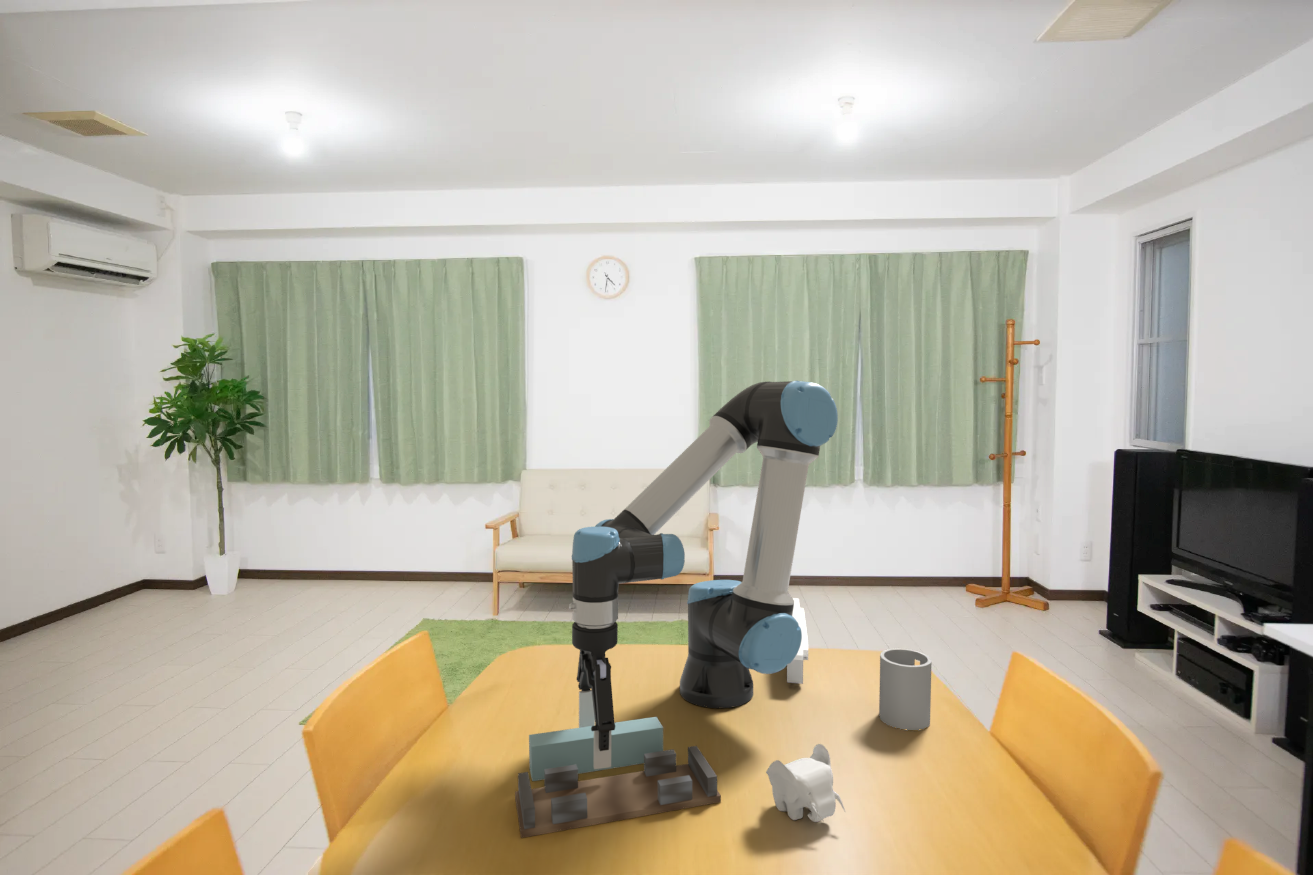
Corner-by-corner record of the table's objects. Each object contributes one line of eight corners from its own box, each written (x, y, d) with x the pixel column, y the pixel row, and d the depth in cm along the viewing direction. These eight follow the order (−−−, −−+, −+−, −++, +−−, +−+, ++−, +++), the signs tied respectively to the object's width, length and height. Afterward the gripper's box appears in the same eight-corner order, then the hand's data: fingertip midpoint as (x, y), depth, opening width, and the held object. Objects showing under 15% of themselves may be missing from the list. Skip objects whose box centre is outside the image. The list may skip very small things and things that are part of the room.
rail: (656, 749, 123) (656, 716, 122) (663, 761, 119) (663, 727, 118) (529, 769, 117) (528, 734, 116) (532, 782, 113) (531, 746, 112)
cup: (877, 725, 130) (878, 662, 130) (881, 704, 139) (882, 645, 138) (929, 734, 127) (931, 669, 126) (930, 712, 135) (931, 651, 135)
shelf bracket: (806, 645, 171) (807, 598, 168) (807, 710, 148) (808, 658, 144) (784, 643, 172) (784, 597, 169) (781, 708, 149) (781, 656, 145)
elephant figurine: (810, 846, 96) (810, 784, 96) (753, 802, 107) (754, 746, 106) (858, 822, 102) (859, 763, 101) (800, 783, 112) (800, 729, 111)
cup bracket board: (698, 767, 116) (698, 744, 116) (720, 801, 107) (720, 776, 107) (515, 797, 108) (514, 772, 108) (521, 837, 99) (520, 810, 98)
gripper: (561, 601, 127) (560, 715, 128) (586, 650, 103) (585, 789, 104) (602, 598, 129) (601, 710, 130) (635, 645, 105) (634, 782, 106)
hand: (594, 746), depth 117 cm, fingers open, 13 cm apart
